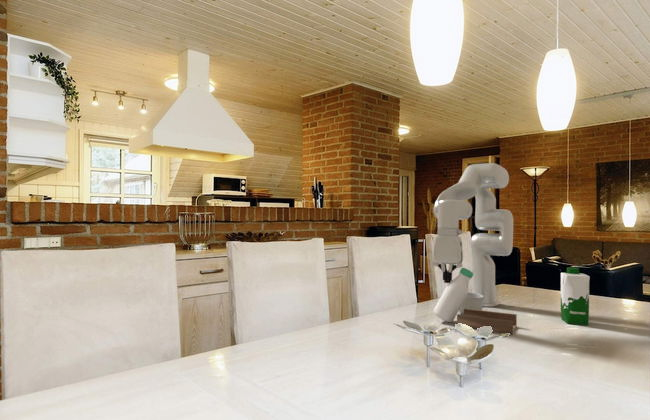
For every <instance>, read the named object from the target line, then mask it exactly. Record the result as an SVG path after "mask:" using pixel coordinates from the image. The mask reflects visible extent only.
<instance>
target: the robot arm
mask: <svg viewBox="0 0 650 420" xmlns="http://www.w3.org/2000/svg"><path fill="white" fill-rule="evenodd" d="M509 182H510V175H509V172H508V170H507V169H506V168H505V167H503V166H501V165H500V164H497V163H495V162H490V163H489V162H488V163H474V164H473V163H472V164H470V165H468V166H467V167H466V168H465V169H464V171H463V173H462V175H461V176H460V178H459V180H458V182H457V183H455V184H454V185H452V186H449V187H448V188H446V189H445V190H443V191H442V192H441V193H440V194H439V195H438V197H437V199H436V200H435V202H434V205H433V215H434V217H435V218H436V219H437V235H436V236H435V237H434V238H435V239H434V243H433V252H432V253H433V254H432V260H433V262H432V266H435V267H437V268H439V269H440V270H441V272H442V281H443V283H444V284H449V283H450V282H451V281H452V280H453V271H455V270H456V269H461V268H464V267H463V266H464V265H463V261H464V253H463V241H462V237H461V236H460V235H463V232H464V231H463V230H461V229H460V228H459V227H460V226H459V221H460V220H461V221H462V220H464V221H465V220H467V219H469V218H470V217H471V216H472V214H473V206H472V204H471V203H470V201H468V200H470V199H472V198H475V212H474V214H475V215H474V223H475V227H476V228H477V230H480V231H492V232H493V231H497V232H498V231H499V232H500V233H492V232H491V233H487V232H479V233H475V234H473V235H472V236H471V238H470V242H469V243H470V249H471V259H472V269H471V272H472V273H473V276H472V278H471V281H472V282H471V283H472V284H471V285H472V290H471V291H472V292H473V293H478V294H481V295H483V296H484V297H483V307H488V308H491V307H497V306H500V305H499V304H500V302H499V301H497V300H496V264H495V262H494V260H493V258H492V257H491V256H497V257H500V256H502V257H505V256H506V257H508V256H510V255H511V253H512V252H513V245H514V243H513V242H514V216H513V213H512V212H511V211H510V210H509V209H505V208H504V209H502V208H501V209H500V208H499V209H497V199H496V196H495V194H494V193H493V192H492V191H491V189H505V188H506V187H507V186H508V185H509ZM447 264H448V267H447ZM447 268H448V269H447Z"/></svg>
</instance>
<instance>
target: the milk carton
mask: <svg viewBox="0 0 650 420" xmlns="http://www.w3.org/2000/svg"><path fill="white" fill-rule="evenodd" d="M590 277H591V276H589V275H587V274H585V273H581V272H580V268H579V267H571V266H570V267H566V271H565V272H560V316H561V320H562V321H563V322H564V321H565V322H564V323H566V324H567V325H580V326H589V321H590V320H589V319H590V318H589V316H590V279H591V278H590Z"/></svg>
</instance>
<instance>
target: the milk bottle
mask: <svg viewBox="0 0 650 420" xmlns="http://www.w3.org/2000/svg"><path fill="white" fill-rule="evenodd" d="M472 276H473V273H472V270H470V269H468V268H465V267H460V270H459V273H458V275H457V276H456V277H455V278H454V279H452V281H451V282H450V283H447V286H446V287H445V288H444V290H443V292H442V294H441V296H440V298H439V300H438V301H437V304H436V305H435V307H434V308H433V314H434V315H435V316H436V317H437V318H438V319H441V321H444V322H447V323H452V322H453V321H454V320H455V318H456V317H457V314H459V309H460V307H461V306H462V304H463V302H464V300H465V298H466V296H467V293H468V292H469V283H470V280H472Z"/></svg>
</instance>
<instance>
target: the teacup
mask: <svg viewBox="0 0 650 420" xmlns="http://www.w3.org/2000/svg"><path fill="white" fill-rule="evenodd" d="M483 297H484V296H483V295H481V294H478V293H473V292H470V291H468V293H467V296H466V298H465V300H464V302H463V304H462V306H461V307H460V309H459V311H458V313H460V315H464V308H466V309H474V310H483V307H484V306H483Z"/></svg>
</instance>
